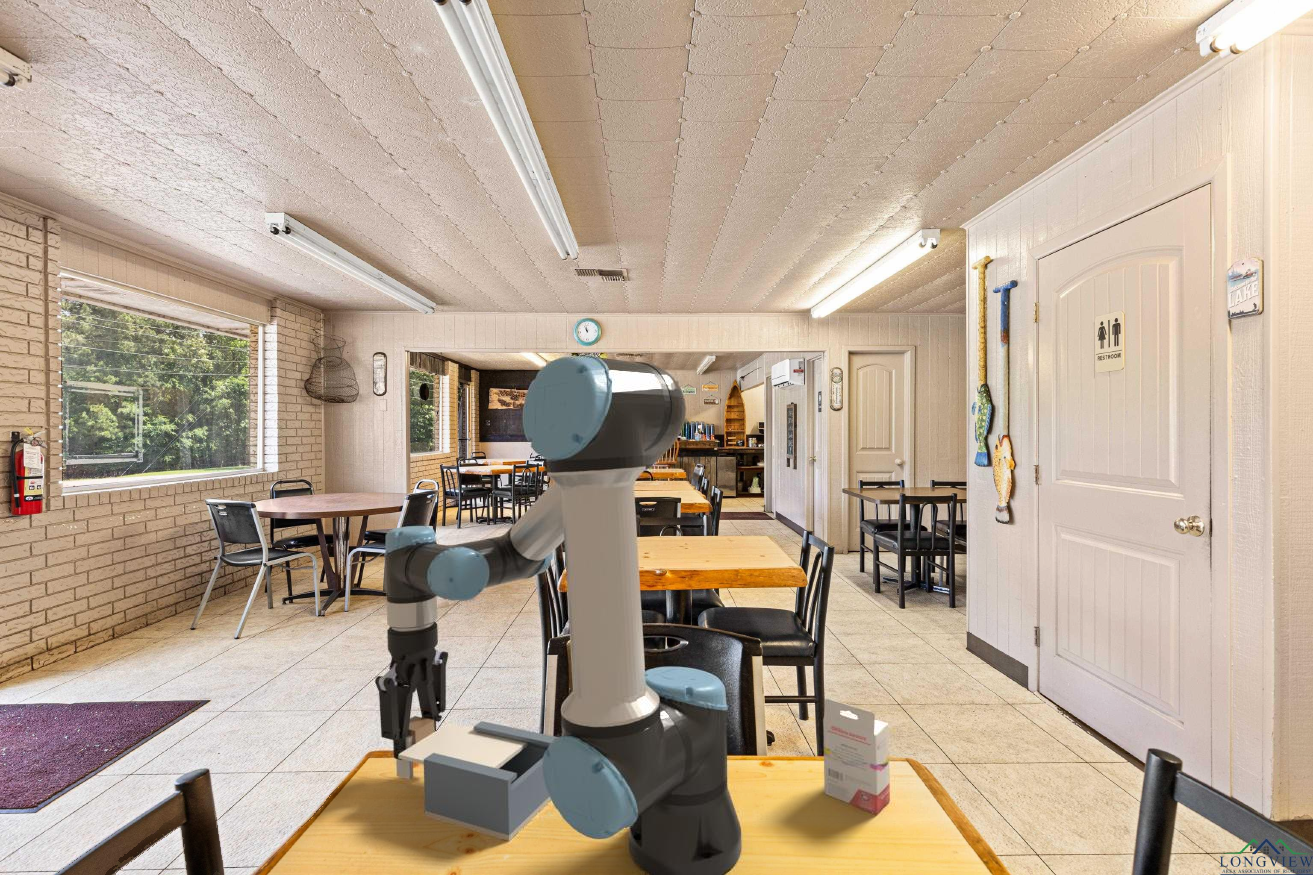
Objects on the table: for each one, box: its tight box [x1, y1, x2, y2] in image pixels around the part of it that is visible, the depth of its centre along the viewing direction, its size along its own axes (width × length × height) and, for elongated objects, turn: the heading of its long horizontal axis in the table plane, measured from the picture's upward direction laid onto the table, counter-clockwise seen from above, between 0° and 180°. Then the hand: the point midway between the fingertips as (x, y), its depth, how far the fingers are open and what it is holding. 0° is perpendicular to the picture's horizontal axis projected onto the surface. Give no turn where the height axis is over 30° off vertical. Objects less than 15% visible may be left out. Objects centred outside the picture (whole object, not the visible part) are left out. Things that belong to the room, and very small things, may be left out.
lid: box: [398, 715, 529, 769], centre depth 99 cm, size 20×11×4 cm, turn 66°
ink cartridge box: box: [822, 697, 891, 815], centre depth 96 cm, size 9×5×15 cm, turn 47°
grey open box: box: [423, 720, 559, 842], centre depth 96 cm, size 15×13×8 cm
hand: (416, 768), depth 103 cm, fingers closed on lid, 4 cm apart
